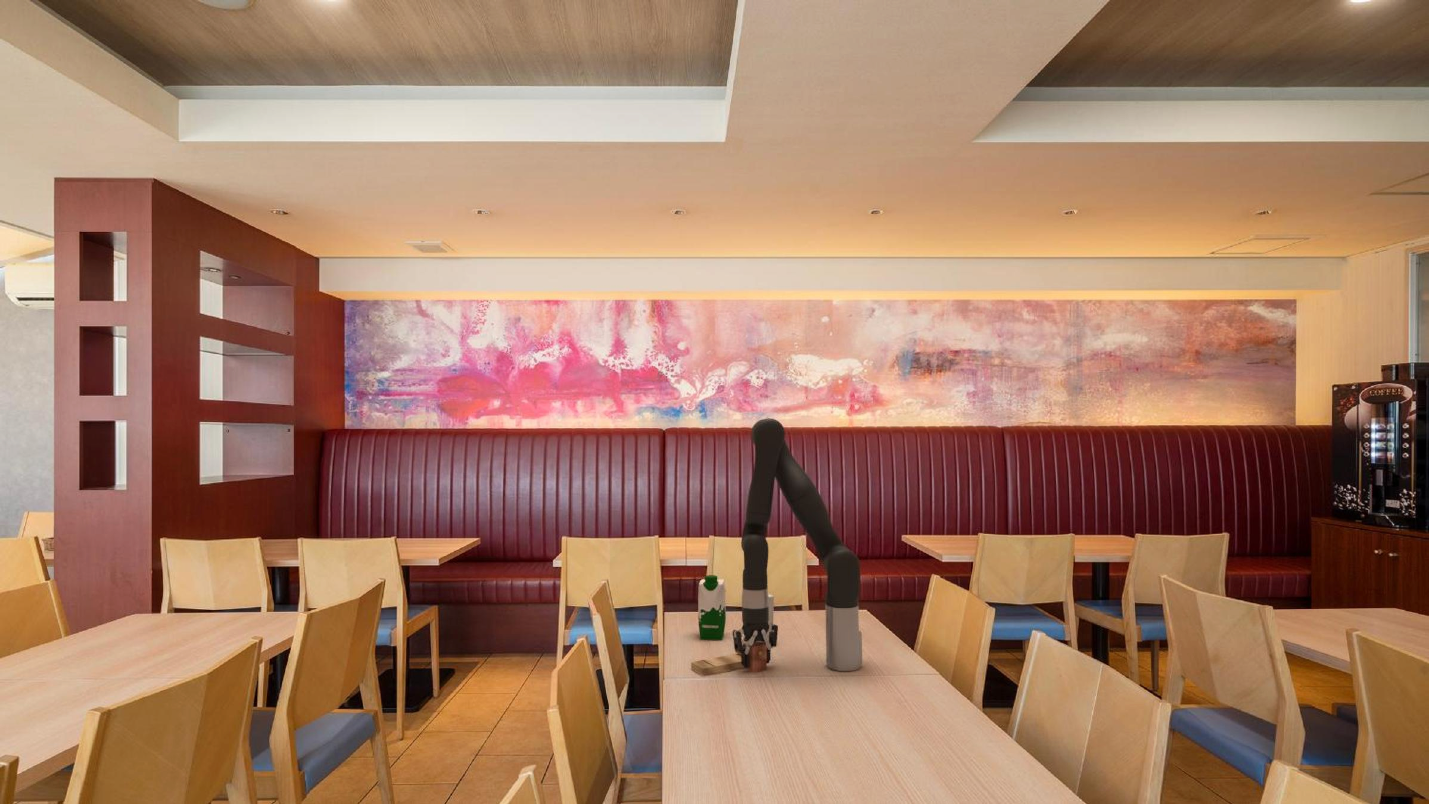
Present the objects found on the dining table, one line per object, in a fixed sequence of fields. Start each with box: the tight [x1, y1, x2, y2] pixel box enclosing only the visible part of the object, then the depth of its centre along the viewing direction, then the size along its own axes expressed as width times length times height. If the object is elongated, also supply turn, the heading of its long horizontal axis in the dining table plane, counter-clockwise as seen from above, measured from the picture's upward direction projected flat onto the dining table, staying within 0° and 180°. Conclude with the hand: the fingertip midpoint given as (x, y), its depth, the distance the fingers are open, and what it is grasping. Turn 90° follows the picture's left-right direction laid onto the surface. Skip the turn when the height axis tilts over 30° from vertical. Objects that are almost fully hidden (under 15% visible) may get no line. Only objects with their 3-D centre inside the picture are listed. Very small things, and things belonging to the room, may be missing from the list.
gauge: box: [734, 641, 768, 673], centre depth 209 cm, size 4×13×7 cm, turn 30°
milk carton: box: [697, 574, 727, 641], centre depth 240 cm, size 9×9×20 cm
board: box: [690, 653, 745, 677], centre depth 208 cm, size 19×7×2 cm, turn 120°
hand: (756, 664), depth 206 cm, fingers open, 6 cm apart
